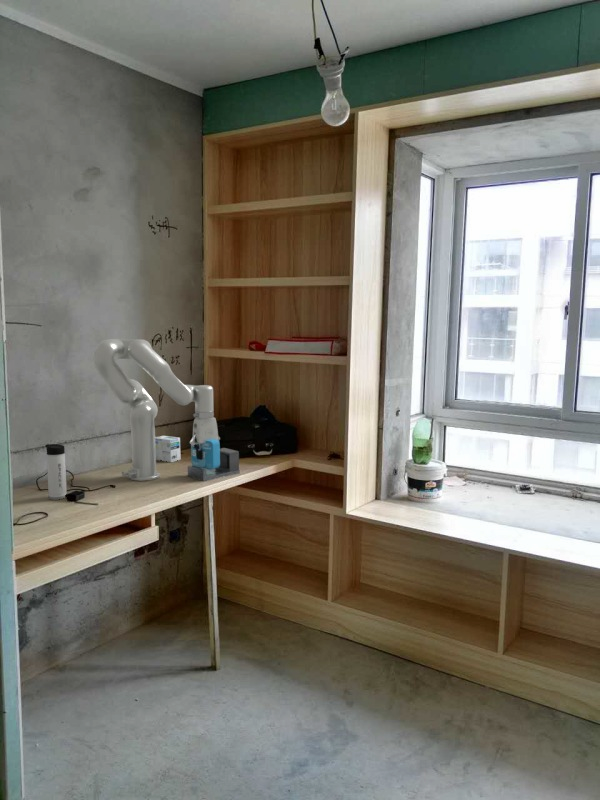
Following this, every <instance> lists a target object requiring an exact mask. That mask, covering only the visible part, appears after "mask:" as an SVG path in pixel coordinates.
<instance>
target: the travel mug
mask: <svg viewBox="0 0 600 800" xmlns="http://www.w3.org/2000/svg"><path fill="white" fill-rule="evenodd" d="M44 447H45V448H46V465H47V466H46V467H47V470H46V471H47V487H48V488H47V489H48V499H49V500H51V501H60V500H63V498H64V499H66V498H65V495H66V494H67V492H68V491H67V473H66V472H67V471H66V469H67V467H66V453H65V446H64V445H62V444H55V443H54V444H53V443H51V444H50V443H47V444H45V446H44ZM67 495H68V494H67ZM59 499H60V500H59Z"/></svg>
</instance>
